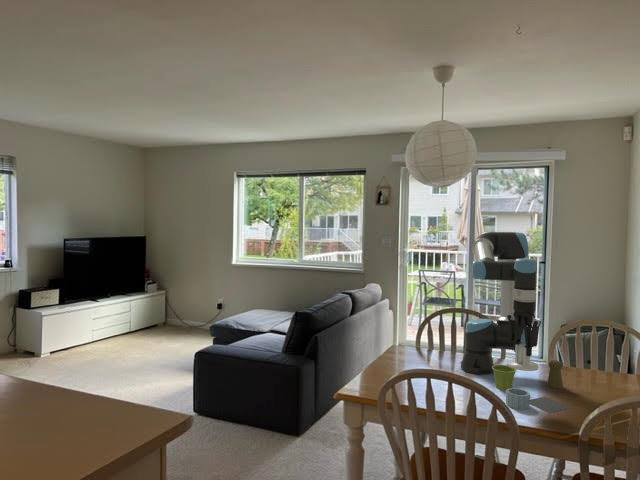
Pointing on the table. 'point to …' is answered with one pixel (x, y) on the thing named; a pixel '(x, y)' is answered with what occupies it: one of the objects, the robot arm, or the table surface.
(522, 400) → the bowl
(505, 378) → the plant pot
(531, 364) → the lid
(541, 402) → the mat
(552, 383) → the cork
